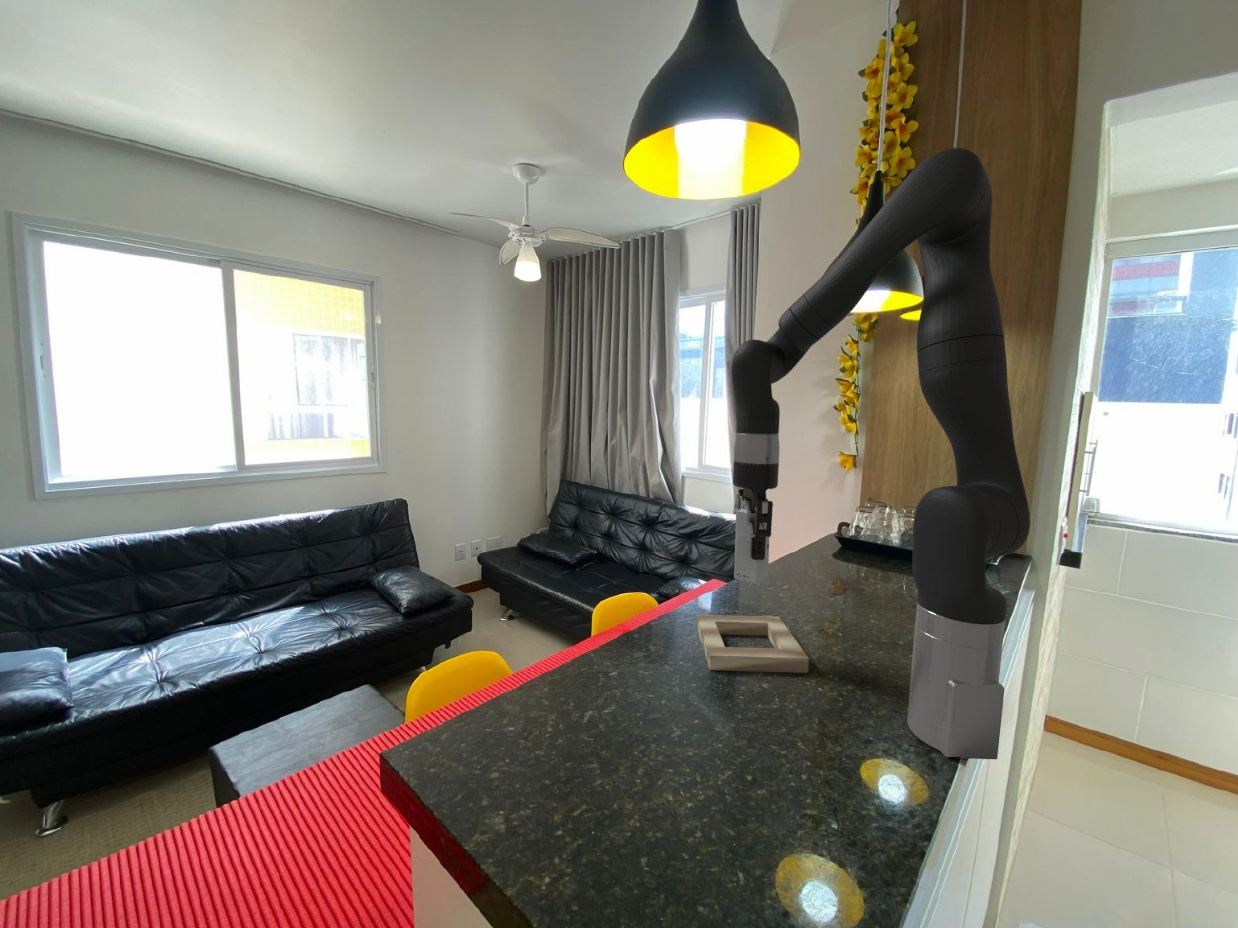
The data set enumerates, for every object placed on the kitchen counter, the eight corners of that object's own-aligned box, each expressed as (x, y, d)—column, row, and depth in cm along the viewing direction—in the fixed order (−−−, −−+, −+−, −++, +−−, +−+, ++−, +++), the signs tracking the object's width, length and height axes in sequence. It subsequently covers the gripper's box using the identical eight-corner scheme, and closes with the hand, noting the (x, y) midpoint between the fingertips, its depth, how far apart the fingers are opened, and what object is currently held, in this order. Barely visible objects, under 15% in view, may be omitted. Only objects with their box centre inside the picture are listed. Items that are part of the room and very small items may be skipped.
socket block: (808, 672, 77) (808, 658, 77) (709, 669, 78) (710, 655, 78) (778, 628, 93) (778, 616, 93) (696, 626, 94) (696, 614, 94)
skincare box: (757, 584, 81) (760, 514, 79) (732, 579, 83) (734, 511, 82) (769, 574, 86) (772, 508, 84) (745, 569, 88) (747, 505, 87)
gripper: (791, 464, 75) (786, 566, 77) (766, 456, 89) (762, 542, 91) (743, 463, 75) (739, 565, 77) (726, 455, 89) (723, 541, 91)
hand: (751, 552), depth 84 cm, fingers closed on skincare box, 7 cm apart
